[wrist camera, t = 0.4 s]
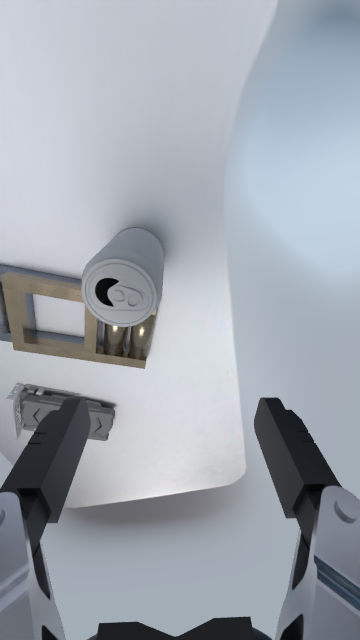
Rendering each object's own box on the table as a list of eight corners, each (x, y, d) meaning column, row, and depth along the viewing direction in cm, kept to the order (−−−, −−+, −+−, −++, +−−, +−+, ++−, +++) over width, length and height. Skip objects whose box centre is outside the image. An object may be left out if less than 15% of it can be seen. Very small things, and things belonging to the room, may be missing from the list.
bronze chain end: (16, 267, 28) (0, 275, 25) (159, 295, 30) (158, 305, 28) (26, 337, 33) (13, 349, 30) (147, 355, 35) (146, 368, 33)
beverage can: (117, 218, 25) (80, 240, 15) (171, 237, 26) (172, 270, 16) (107, 270, 28) (70, 319, 18) (156, 285, 29) (149, 339, 19)
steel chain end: (-48, 255, 27) (-63, 259, 25) (104, 284, 29) (100, 290, 27) (-27, 329, 32) (-39, 337, 30) (100, 348, 34) (97, 356, 33)
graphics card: (9, 441, 40) (4, 398, 35) (21, 421, 44) (18, 379, 38) (104, 453, 44) (115, 416, 38) (109, 434, 47) (119, 398, 41)
